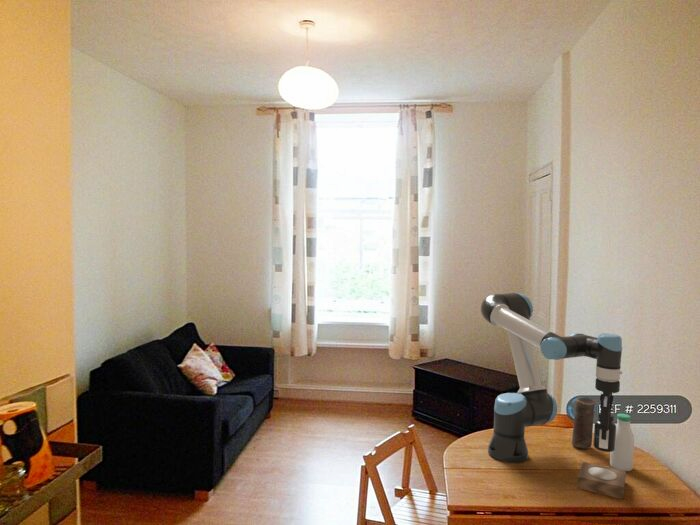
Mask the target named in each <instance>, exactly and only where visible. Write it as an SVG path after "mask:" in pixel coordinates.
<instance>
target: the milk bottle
mask: <svg viewBox="0 0 700 525" xmlns="http://www.w3.org/2000/svg"><path fill="white" fill-rule="evenodd" d="M616 418H617V419H616V421H617V423H616V424H615V425H616V439H615V450H614V451H612V452H609V466H610V468H613V469H618V470H622V471H626V472H630V471H632V470H633V465H634V453H635V452H634V450H635V437H634V433H633V431H632V428H631V421H632V417H631V415H629V414H626V413H618V414H617V415H616Z"/></svg>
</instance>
